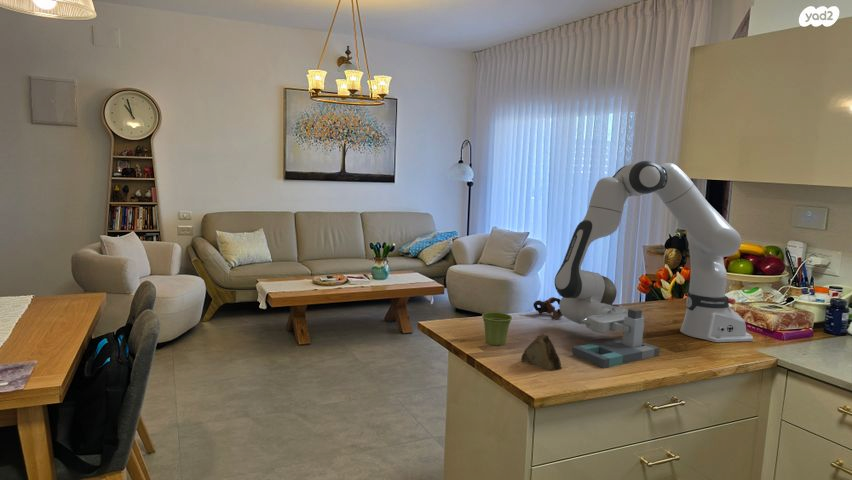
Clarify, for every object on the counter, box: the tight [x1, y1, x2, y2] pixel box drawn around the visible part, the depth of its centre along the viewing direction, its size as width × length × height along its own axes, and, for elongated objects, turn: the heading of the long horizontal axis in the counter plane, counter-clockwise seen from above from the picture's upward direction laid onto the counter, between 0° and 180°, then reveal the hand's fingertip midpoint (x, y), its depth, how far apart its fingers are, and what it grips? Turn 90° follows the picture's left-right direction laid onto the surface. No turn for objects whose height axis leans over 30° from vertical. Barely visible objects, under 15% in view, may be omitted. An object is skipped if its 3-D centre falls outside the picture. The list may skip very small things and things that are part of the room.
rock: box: [520, 333, 563, 371], centre depth 159 cm, size 11×9×10 cm
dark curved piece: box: [533, 296, 564, 320], centre depth 211 cm, size 12×10×8 cm
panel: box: [572, 337, 660, 369], centre depth 170 cm, size 24×12×2 cm, turn 121°
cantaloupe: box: [601, 275, 617, 305], centre depth 217 cm, size 14×14×15 cm
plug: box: [622, 307, 645, 348], centre depth 172 cm, size 4×4×13 cm
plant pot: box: [481, 311, 513, 346], centre depth 177 cm, size 9×9×9 cm
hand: (636, 328), depth 172 cm, fingers open, 5 cm apart
